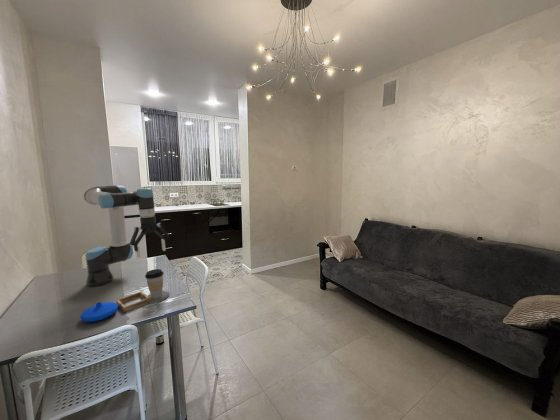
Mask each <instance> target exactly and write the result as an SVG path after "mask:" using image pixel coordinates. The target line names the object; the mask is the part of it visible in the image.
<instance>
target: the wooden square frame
mask: <svg viewBox="0 0 560 420" xmlns="http://www.w3.org/2000/svg"><path fill="white" fill-rule="evenodd" d="M138 298H142V300H139V301H137V302H135V303H132V304H129V305H127V306H126V305H124V303H126V302H129V301H132V300H135V299H138ZM144 298H145V299H144ZM115 301H116V302H115V303H116V304H117V305H118V308H120V310H121V311H122V312H124V313H127V312H129V311H132V310H134V309H137V308H139V307H143V306H144V305H147V304H149V303H148V302H149V301H151V300H150V297H148V296H147V294H146V293H145V292H143V291H142V290H141V291H138V292H136V293H133V294H130V295H126V296H124V297H121V298H119V299H116V300H115Z"/></svg>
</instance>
